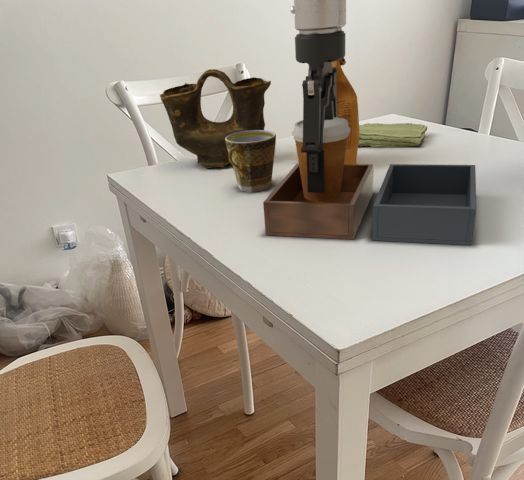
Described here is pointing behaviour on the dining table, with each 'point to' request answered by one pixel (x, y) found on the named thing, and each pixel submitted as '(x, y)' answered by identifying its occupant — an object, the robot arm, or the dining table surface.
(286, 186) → the wood bin
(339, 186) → the disposable coffee cup
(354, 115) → the coffee package
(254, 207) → the dining table surface
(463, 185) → the grey bin
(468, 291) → the dining table surface
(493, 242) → the dining table surface
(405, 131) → the washcloth
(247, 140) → the ceramic cup
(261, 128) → the pottery vessel
